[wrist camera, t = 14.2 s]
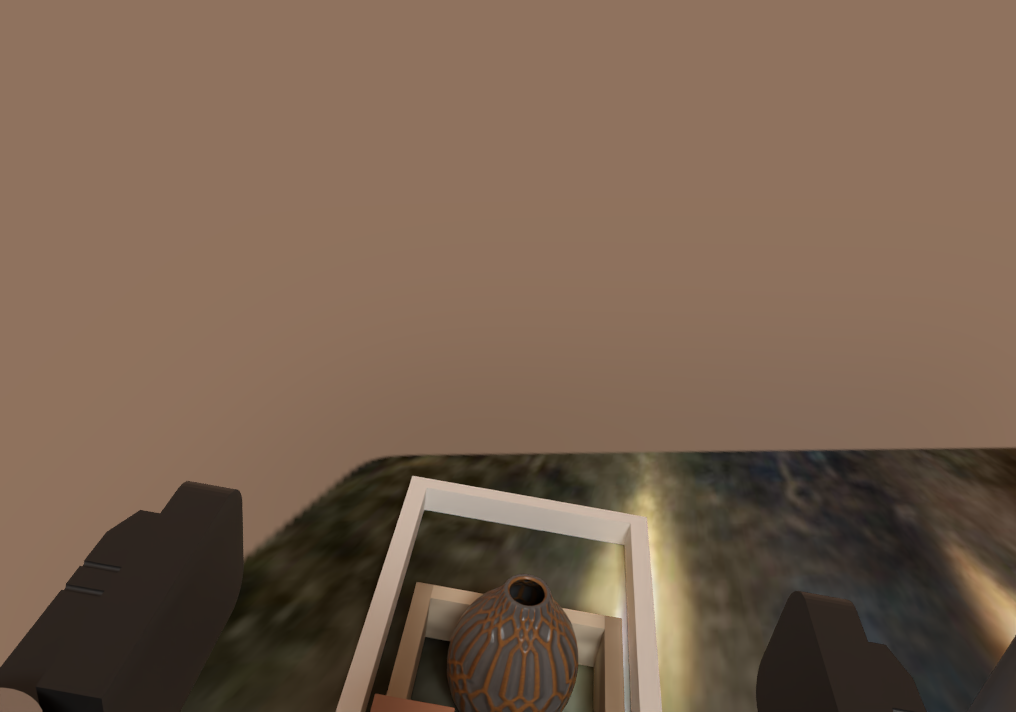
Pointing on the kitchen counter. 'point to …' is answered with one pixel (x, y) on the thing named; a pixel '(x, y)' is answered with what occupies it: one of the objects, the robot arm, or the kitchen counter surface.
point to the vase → (513, 651)
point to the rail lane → (520, 514)
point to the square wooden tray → (438, 618)
